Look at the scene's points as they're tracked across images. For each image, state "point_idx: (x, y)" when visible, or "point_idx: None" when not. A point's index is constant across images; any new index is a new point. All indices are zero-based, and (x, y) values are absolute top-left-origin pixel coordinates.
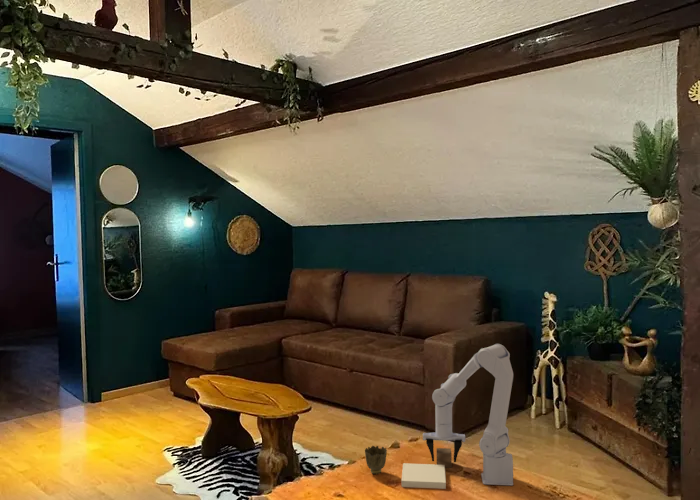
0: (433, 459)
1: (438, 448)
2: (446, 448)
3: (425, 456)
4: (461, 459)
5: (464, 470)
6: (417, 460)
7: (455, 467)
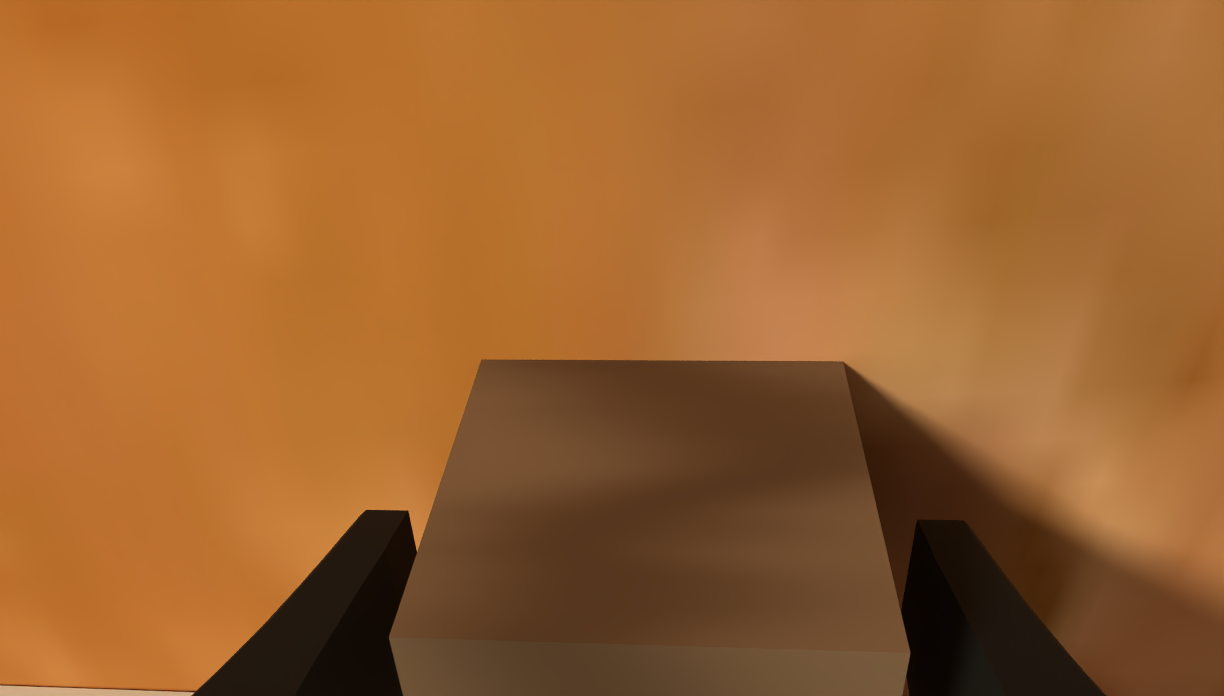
0: None
1: (461, 667)
2: (744, 659)
3: (118, 52)
4: (1195, 161)
5: None
6: (18, 331)
7: None
